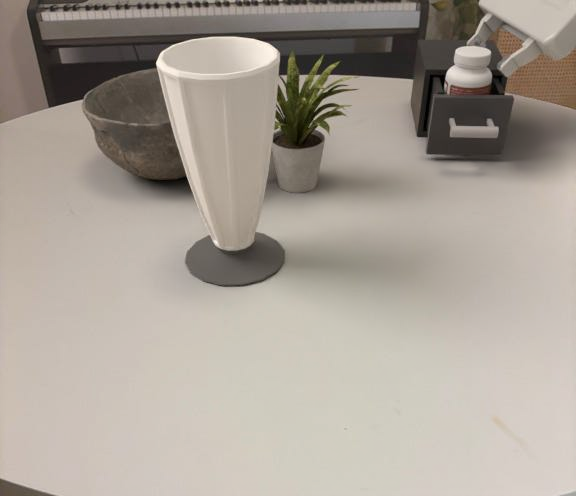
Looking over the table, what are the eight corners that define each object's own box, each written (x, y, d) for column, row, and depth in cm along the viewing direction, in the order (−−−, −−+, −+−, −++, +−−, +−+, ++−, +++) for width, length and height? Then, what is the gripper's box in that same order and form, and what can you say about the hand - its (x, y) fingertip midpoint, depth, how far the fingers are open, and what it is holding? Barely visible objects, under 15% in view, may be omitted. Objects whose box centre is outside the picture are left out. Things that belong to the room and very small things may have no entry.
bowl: (128, 131, 99) (115, 62, 92) (258, 139, 96) (255, 69, 90) (73, 195, 85) (52, 118, 78) (224, 206, 82) (217, 128, 75)
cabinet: (494, 137, 96) (509, 70, 89) (416, 136, 97) (425, 69, 90) (481, 103, 106) (493, 40, 99) (410, 102, 106) (417, 39, 100)
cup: (304, 249, 74) (305, 47, 59) (245, 299, 68) (230, 85, 53) (226, 222, 79) (208, 29, 64) (163, 266, 72) (128, 61, 57)
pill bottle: (490, 138, 91) (507, 54, 83) (454, 146, 89) (469, 61, 82) (463, 122, 95) (477, 41, 87) (428, 130, 93) (440, 47, 86)
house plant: (313, 225, 78) (316, 86, 67) (222, 197, 84) (210, 64, 72) (367, 179, 87) (377, 49, 75) (281, 156, 92) (279, 31, 81)
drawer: (507, 170, 86) (521, 111, 81) (429, 169, 87) (437, 110, 81) (487, 120, 98) (498, 66, 93) (419, 119, 99) (426, 65, 94)
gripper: (632, 9, 74) (534, 104, 80) (545, -29, 89) (467, 54, 94) (610, -33, 71) (509, 69, 76) (523, -65, 85) (443, 23, 91)
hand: (485, 60), depth 85 cm, fingers open, 8 cm apart
